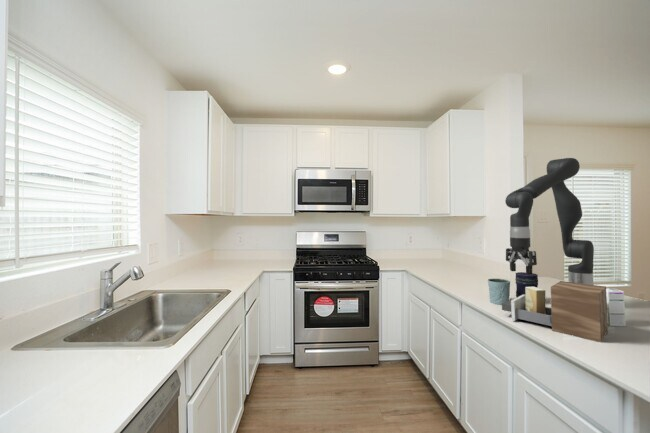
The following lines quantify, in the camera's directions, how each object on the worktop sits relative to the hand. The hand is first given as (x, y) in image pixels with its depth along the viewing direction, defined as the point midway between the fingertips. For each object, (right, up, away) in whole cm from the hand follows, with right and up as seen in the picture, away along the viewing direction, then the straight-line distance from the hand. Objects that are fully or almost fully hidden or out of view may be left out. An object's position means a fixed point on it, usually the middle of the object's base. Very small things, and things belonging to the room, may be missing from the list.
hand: (520, 272), depth 127 cm
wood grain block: (+13, -20, -15) cm, 28 cm away
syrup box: (+32, -20, -9) cm, 39 cm away
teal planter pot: (+5, -21, +23) cm, 31 cm away
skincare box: (+4, -18, -4) cm, 19 cm away
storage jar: (+20, -21, +23) cm, 37 cm away
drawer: (+2, -20, -2) cm, 20 cm away
